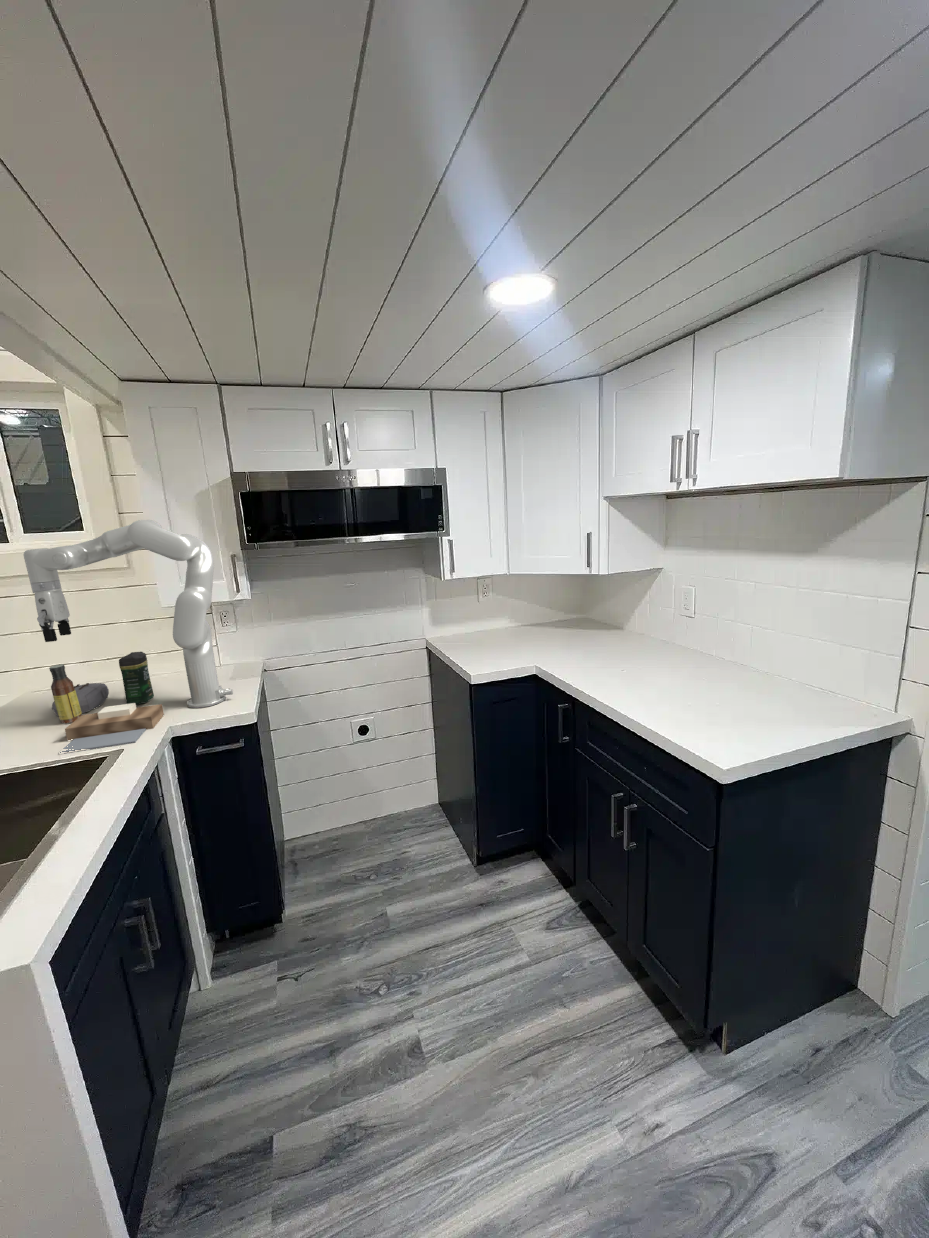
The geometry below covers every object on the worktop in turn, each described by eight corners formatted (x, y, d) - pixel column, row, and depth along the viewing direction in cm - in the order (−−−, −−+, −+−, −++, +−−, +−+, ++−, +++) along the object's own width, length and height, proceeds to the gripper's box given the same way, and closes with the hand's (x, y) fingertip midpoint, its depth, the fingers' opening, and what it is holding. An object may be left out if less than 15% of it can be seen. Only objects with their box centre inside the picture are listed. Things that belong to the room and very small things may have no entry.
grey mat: (146, 729, 167) (145, 728, 166) (135, 742, 157) (134, 741, 157) (74, 740, 162) (74, 738, 162) (58, 754, 152) (58, 752, 152)
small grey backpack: (73, 701, 200) (43, 721, 181) (69, 680, 198) (38, 698, 179) (117, 696, 203) (92, 715, 183) (112, 676, 201) (87, 693, 182)
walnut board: (164, 715, 179) (161, 704, 178) (153, 728, 167) (150, 716, 166) (84, 726, 173) (81, 715, 172) (67, 741, 162) (64, 729, 161)
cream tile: (136, 708, 175) (135, 702, 175) (130, 714, 169) (128, 709, 169) (106, 712, 173) (104, 706, 173) (98, 719, 167) (97, 713, 167)
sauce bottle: (79, 715, 183) (67, 661, 179) (85, 719, 179) (72, 664, 175) (57, 722, 178) (43, 666, 174) (62, 726, 174) (48, 669, 170)
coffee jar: (147, 704, 190) (137, 655, 187) (123, 707, 189) (113, 658, 185) (157, 695, 200) (148, 649, 196) (135, 698, 199) (125, 651, 195)
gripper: (46, 589, 162) (59, 642, 165) (72, 582, 178) (83, 631, 182) (18, 591, 160) (31, 645, 164) (46, 585, 176) (58, 634, 180)
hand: (58, 638), depth 173 cm, fingers open, 9 cm apart
